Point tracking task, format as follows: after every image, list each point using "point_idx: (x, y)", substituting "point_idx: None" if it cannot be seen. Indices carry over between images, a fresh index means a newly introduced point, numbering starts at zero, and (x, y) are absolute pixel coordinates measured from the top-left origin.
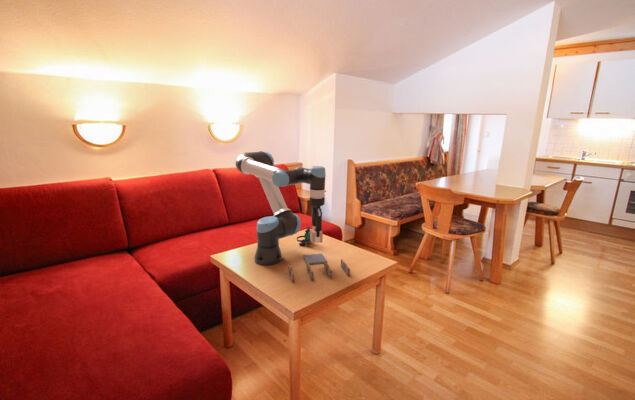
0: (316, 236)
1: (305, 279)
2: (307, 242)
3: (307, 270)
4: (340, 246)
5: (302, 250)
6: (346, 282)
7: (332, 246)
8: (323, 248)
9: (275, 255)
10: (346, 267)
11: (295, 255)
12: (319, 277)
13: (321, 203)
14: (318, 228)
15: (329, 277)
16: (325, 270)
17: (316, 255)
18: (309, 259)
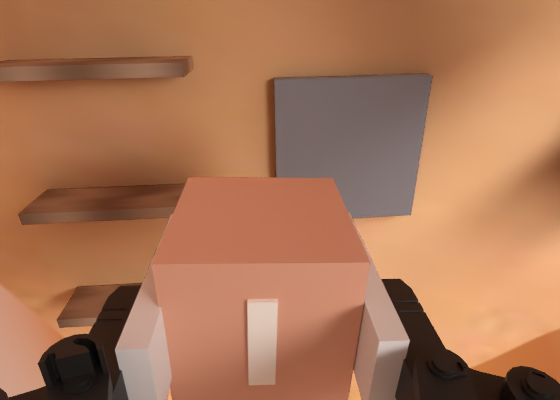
0: (140, 286)
1: (26, 15)
2: None
3: (153, 58)
4: (484, 329)
5: (540, 90)
6: (6, 264)
7: (505, 292)
8: (502, 238)
9: None
10: (96, 314)
11: (474, 12)
12: (64, 126)
13: None
14: None
15: (63, 189)
16: (162, 185)
17: (390, 174)
18: (337, 110)
